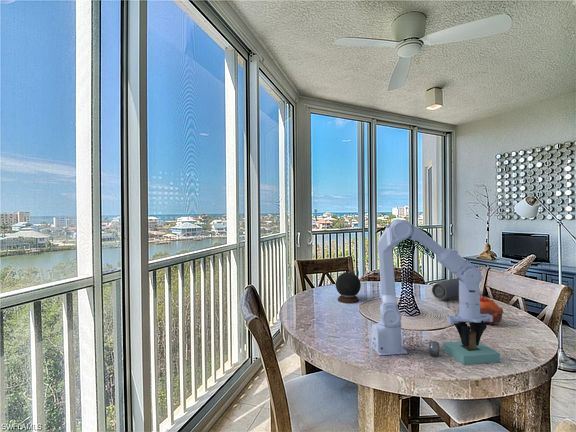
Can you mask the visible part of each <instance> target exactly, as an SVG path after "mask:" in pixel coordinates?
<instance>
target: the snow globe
mask: <svg viewBox="0 0 576 432" xmlns="http://www.w3.org/2000/svg"><path fill="white" fill-rule="evenodd" d="M361 286H362V284H361V279H360V278H359V277H358V276H357V275H356V274H355V273H354V272H349V271H346V272H343V273H341V274H339V275H338V276H337V278H336V281H335V288H336V291H337V292H338V294H339V296H338V298H337V301H338V302H339V303H342V304H350V305H351V304H357V303H359V302H360V299H359V297H358V296H357V295H358V294H359V293H360V290H361Z"/></svg>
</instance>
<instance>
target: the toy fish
mask: <svg viewBox="0 0 576 432" xmlns="http://www.w3.org/2000/svg"><path fill="white" fill-rule="evenodd" d="M480 314H489V315H492V316H493V322H489V321H484V323H485V324H486V323H487V324H489V325H495V324H496V323H497V324H498V323H500V322H501V321H502V318H503V314H504V308H503V307H499V305H498V304H497V303H495V301H494V300H493V299H490V298H488V297H487V296H486V295H481V296H480Z"/></svg>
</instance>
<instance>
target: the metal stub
mask: <svg viewBox="0 0 576 432" xmlns="http://www.w3.org/2000/svg"><path fill="white" fill-rule="evenodd" d="M428 347H429V348H428V353H429V354H428V355H429V356H430V357H432V358H439V357H440V342H438V341H436V340H429V341H428Z"/></svg>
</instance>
